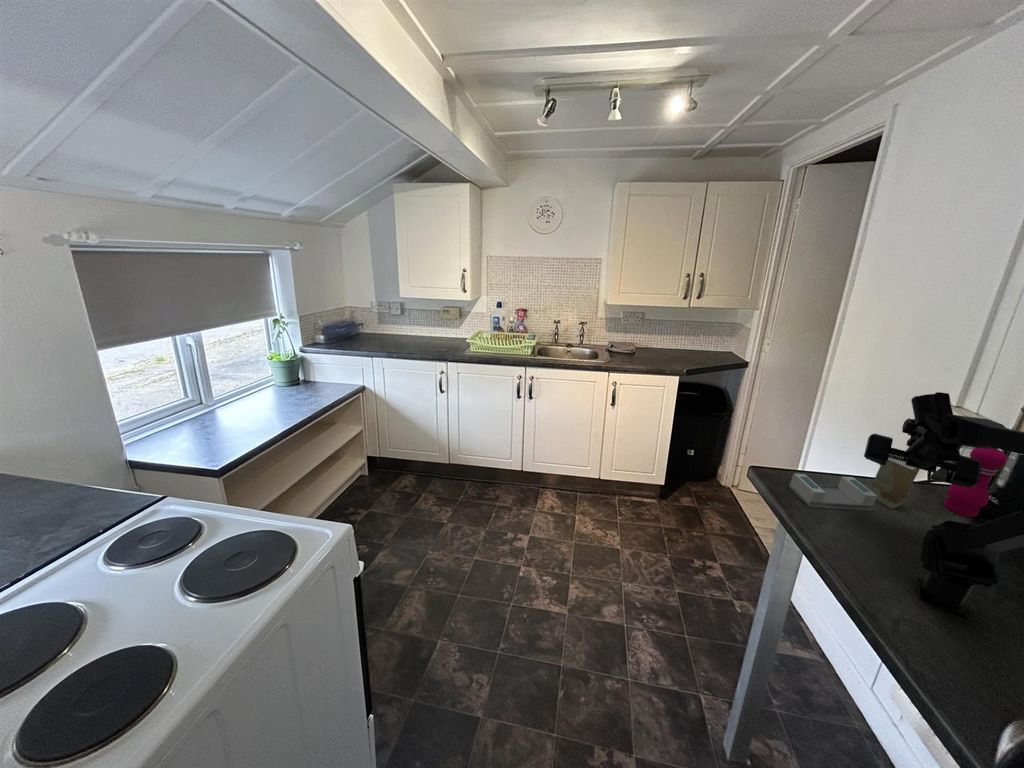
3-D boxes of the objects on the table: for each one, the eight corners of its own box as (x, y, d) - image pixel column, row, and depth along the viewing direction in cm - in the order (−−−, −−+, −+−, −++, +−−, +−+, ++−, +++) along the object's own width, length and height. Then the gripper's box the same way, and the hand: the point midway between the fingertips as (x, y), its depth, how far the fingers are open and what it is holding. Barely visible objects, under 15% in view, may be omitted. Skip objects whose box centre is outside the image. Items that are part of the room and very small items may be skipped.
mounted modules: (848, 488, 113) (853, 476, 112) (872, 507, 105) (878, 495, 104) (789, 484, 113) (794, 472, 112) (809, 503, 105) (814, 491, 104)
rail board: (846, 490, 114) (848, 485, 113) (872, 511, 105) (874, 506, 105) (788, 486, 114) (789, 482, 113) (809, 507, 105) (811, 502, 105)
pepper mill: (962, 502, 111) (997, 437, 104) (988, 520, 104) (1027, 451, 97) (933, 499, 111) (966, 434, 104) (957, 517, 105) (994, 448, 98)
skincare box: (865, 495, 112) (882, 456, 107) (874, 492, 113) (891, 453, 109) (894, 510, 106) (913, 469, 102) (902, 506, 108) (921, 466, 104)
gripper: (1001, 428, 85) (964, 454, 97) (884, 403, 95) (864, 429, 107) (994, 477, 82) (957, 497, 94) (874, 445, 92) (855, 467, 104)
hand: (905, 470), depth 100 cm, fingers open, 9 cm apart
